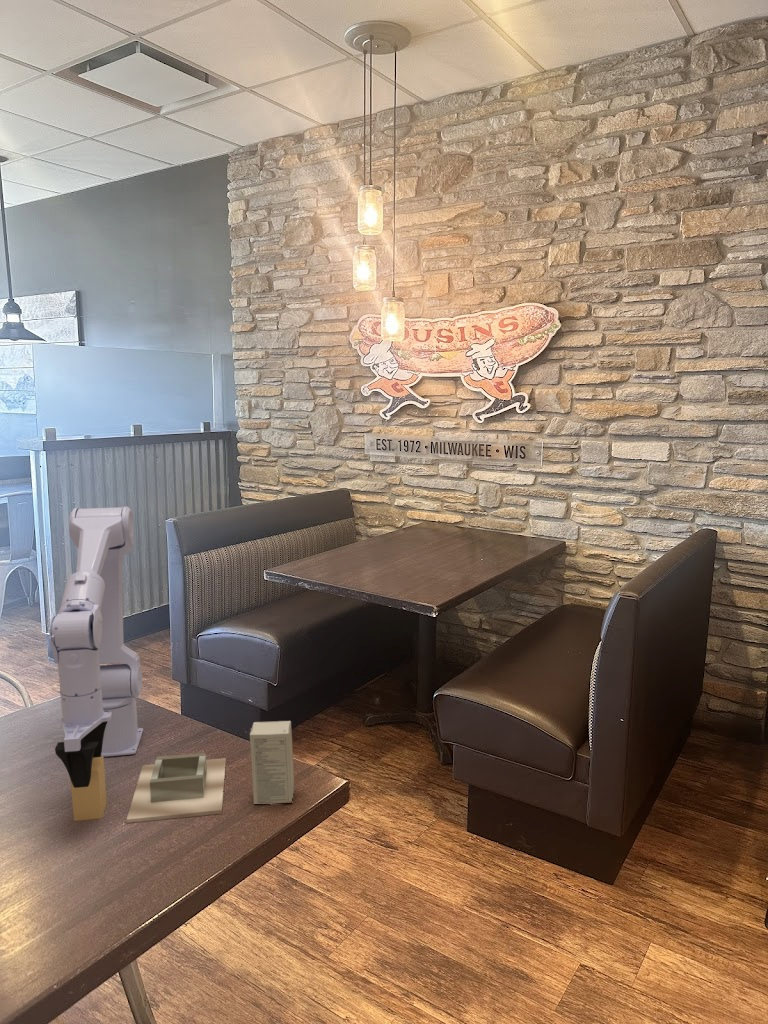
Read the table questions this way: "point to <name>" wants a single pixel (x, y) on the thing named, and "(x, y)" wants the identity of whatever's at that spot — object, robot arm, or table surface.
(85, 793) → the peg
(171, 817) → the socket stand
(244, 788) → the table surface
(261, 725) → the skincare box
